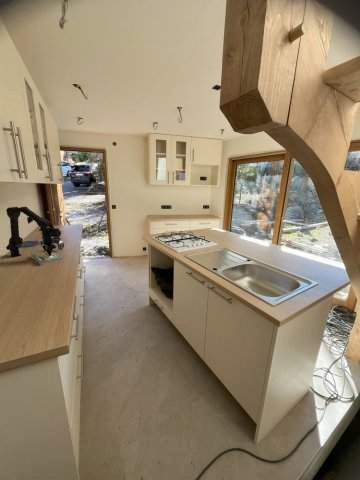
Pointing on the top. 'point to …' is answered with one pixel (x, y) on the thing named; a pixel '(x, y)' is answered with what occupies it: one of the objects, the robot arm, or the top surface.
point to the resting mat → (50, 257)
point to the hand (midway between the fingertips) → (49, 255)
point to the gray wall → (36, 258)
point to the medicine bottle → (59, 245)
